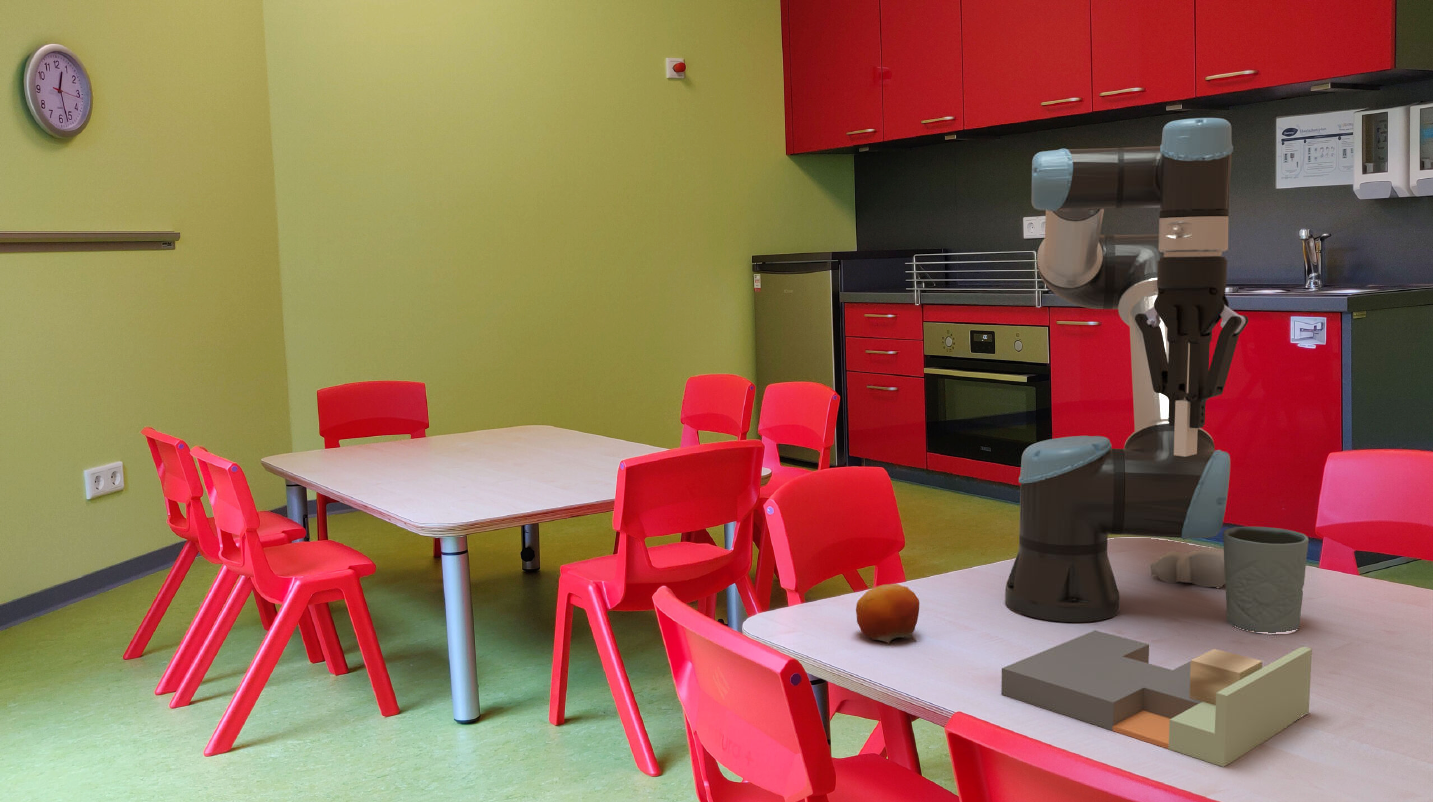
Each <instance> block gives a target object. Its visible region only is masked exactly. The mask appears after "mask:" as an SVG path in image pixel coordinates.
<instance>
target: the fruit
mask: <svg viewBox="0 0 1433 802" xmlns="http://www.w3.org/2000/svg"><path fill="white" fill-rule="evenodd" d="M855 606H856V607H855V614H856V615H855V616H856V623H857V625H858V626H859V628H860V632H862V634H863V635H865V636H866V637H867V638H869V639H871V640H873V641H882V642H885V643H887V644H888V645H889V644H890V642H891V641H892V640H894V639H898V638H909V639H912V640H913V641H914V642H917V640H916V638H914V637H913V635H912V634H913V633H914V632H915V630H916V626H917V623H918V619H919V616H920V615H919V614H920V599H919V598H918V597H917V595H916V593H915V592H914V591H912V590H911V589H910V588H909V587H907V586H905V585H904V586H903V585H901V584H897V583H891V584H881V585H878V586H875V587H873V588H871V589H869V590H867V591H866V592H865V593H864V594H863V595H862V596H861V597H860V598H859V599H858V600H857V602H856V605H855Z"/></svg>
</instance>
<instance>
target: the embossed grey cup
mask: <svg viewBox="0 0 1433 802" xmlns="http://www.w3.org/2000/svg"><path fill="white" fill-rule="evenodd" d="M1222 538H1223V539H1222V540H1223V541H1222V542H1223V543H1222V544H1223V549H1224V570H1225V580H1226V583H1225V589H1224V590H1225V602H1226V620H1227V623H1228V622H1229V623H1230V624H1231V625H1233V626H1236V627H1238V628H1241V629H1244V630H1248V631H1254V632H1268V633H1276V632H1286V631H1292V630H1296V629H1298V627H1299V628H1300V626H1301V625H1300V624H1301V613H1302V607H1303V606H1302V604H1303V598H1304V597H1303V596H1304V591H1303V588H1304V586H1305V577H1306V576H1305V575H1306V569H1307V567H1306V566H1307V557H1308V549H1309V537H1308V536H1307V535H1306V534H1305V533H1302V532H1298V531H1295V530H1290V529H1285V528H1277V527H1267V526H1235V527H1231V528H1229V527H1228V528H1227V529H1225V530H1224V531H1223V532H1222ZM1229 623H1228V624H1229ZM1230 624H1229V625H1230ZM1231 625H1230V626H1231ZM1233 626H1232V627H1233ZM1241 629H1240V630H1241ZM1244 630H1243V631H1244ZM1298 630H1299V629H1298ZM1248 631H1247V632H1248Z"/></svg>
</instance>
